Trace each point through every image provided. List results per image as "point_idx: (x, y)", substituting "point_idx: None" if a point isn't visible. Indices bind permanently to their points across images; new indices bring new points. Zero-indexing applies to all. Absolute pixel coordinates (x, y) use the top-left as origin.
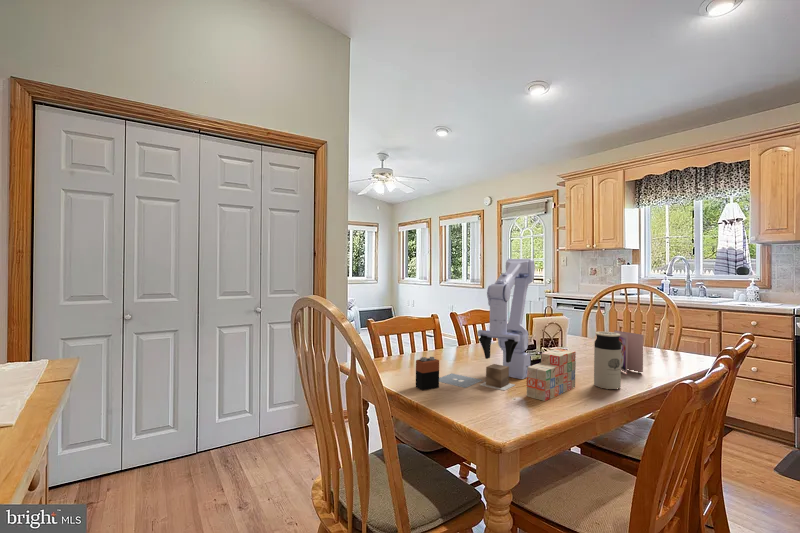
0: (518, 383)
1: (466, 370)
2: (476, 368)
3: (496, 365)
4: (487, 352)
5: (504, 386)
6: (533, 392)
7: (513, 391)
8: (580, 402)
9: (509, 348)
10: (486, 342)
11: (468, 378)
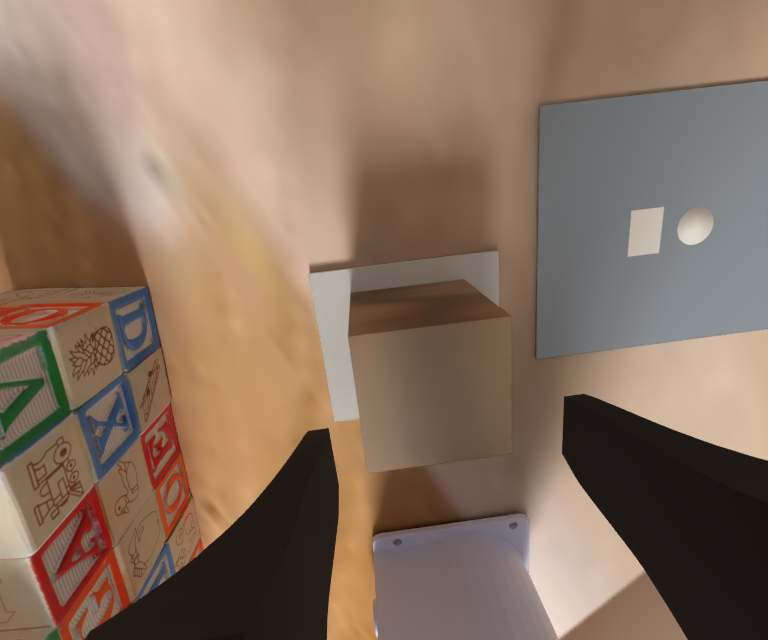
0: (348, 465)
1: None
2: None
3: (466, 427)
4: (610, 453)
5: None
6: (71, 296)
7: (268, 311)
8: None
9: (199, 560)
10: (755, 559)
11: (629, 316)
